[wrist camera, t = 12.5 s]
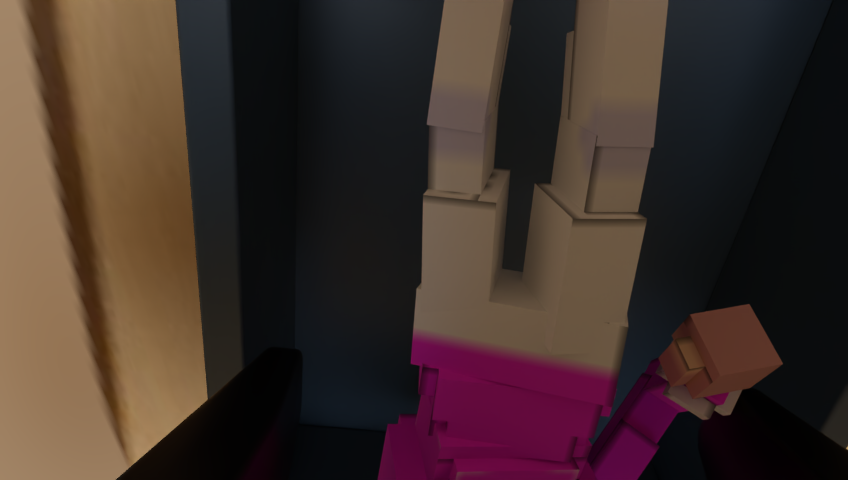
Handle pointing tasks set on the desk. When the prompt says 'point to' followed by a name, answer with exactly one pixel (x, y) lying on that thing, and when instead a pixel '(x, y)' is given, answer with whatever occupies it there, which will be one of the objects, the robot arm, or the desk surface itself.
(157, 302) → the desk surface
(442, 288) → the character figurine
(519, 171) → the bin
